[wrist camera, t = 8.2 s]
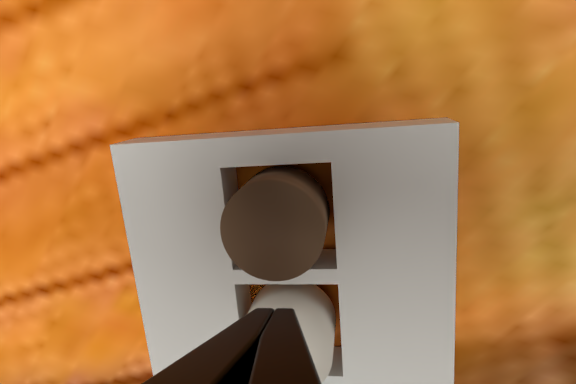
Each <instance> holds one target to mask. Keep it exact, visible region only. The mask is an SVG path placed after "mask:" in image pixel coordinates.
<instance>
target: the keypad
mask: <svg viewBox="0 0 576 384" xmlns="http://www.w3.org/2000/svg"><path fill="white" fill-rule="evenodd" d="M110 149H111V155H112V160H113V165H114V170H115V176H116V181H117V186H118V192H119V197H120V202H121V208H122V213H123V218H124V223H125V229H126V234H127V239H128V245H129V250H130V255H131V260H132V266H133V271H134V276H135V282H136V287H137V292H138V298H139V303H140V308H141V313H142V319H143V324H144V329H145V335H146V340H147V345H148V351H149V356H150V361H151V366H152V372H153V376H154V375H156V374H157V373H159V372H160V371H162V370H163V369H165V368H166V367H168V366H169V365H171V364H172V363H174V362H175V361H177V360H178V359H180V358H181V357H183V356H184V355H186V354H187V353H189V352H190V351H192V350H193V349H195V348H197V347H198V346H200V345H201V344H203V343H204V342H206V341H207V340H209V339H210V338H212V337H213V336H215V335H216V334H218V333H219V332H221V331H222V330H224V329H225V328H227V327H228V326H230V325H231V324H233V323H234V322H236V321H237V320H239V319H240V318H242V317H244V316H245V315H247V314H248V312H249V309H250V307H251V305H252V303H251V294H250V285H249V284H338V293H339V311H340V328H341V346H342V347H335V346H334V350H333V361H332V367H331V370H330V372H329V374H328V376H327V378H326V379H325V380H324V382H323V383H322V384H454V356H455V306H456V257H457V207H458V158H459V122H457V121H454V120H452V119H450V118H447V117H445V118H430V119H415V120H400V121H385V122H370V123H355V124H340V125H325V126H310V127H295V128H279V129H264V130H249V131H234V132H219V133H204V134H189V135H174V136H159V137H144V138H134V139H130V140H127V141H123V142H119V143H115V144H111V145H110ZM325 162H331V170H332V187H333V205H334V223H335V240H336V249H322V252H321V254H320V256H319V258H318V260H317V261H316V263H315V264H314V265H313V266H312V267H311V268H310V269H309V270H308V271H307V272H305V273H303V274H302V275H300V276H298V277H296V278H293V279H290V280H285V281H267V280H262V279H259V278H256V277H253V276H251V275H249V274H248V273H246V272H244V271H243V270H242V269H240V268H239V267H238V266H237V265H236V264H235V263H234V262H233V261H232V260H231V258H230V257H229V255H228V254H227V252H226V250H225V248H224V246H223V243H222V239H221V234H220V221H221V216H222V213H223V210H224V208H225V206H226V204H227V202H228V201H229V200H230V198H231V197H232V196H233V195H234V194H235V193H236V192H237V191H238V181H237V172H236V167H247V166H266V165H286V164H305V163H325Z"/></svg>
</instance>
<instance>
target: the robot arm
mask: <svg viewBox="0 0 576 384" xmlns="http://www.w3.org/2000/svg"><path fill="white" fill-rule="evenodd" d="M142 384H322V383H321V381H320V378H319V375H318V373H317V370H316V367H315V364H314V362H313V359H312V356H311V354H310V351H309V348H308V345H307V343H306V340H305V337H304V335H303V332H302V329H301V326H300V324H299V321H298V318H297V316H296V313H295V310H294V309H292V308H277V309H275V310H274V309H273V308H256V309H254V310H253V311H251V312H250V313H248V314H247V315H245V316H244V317H242V318H240V319H239V320H237V321H236V322H234V323H233V324H231V325H230V326H228V327H227V328H225V329H224V330H222V331H221V332H219V333H218V334H216V335H215V336H213V337H212V338H210V339H209V340H207V341H206V342H204V343H203V344H201V345H200V346H198V347H197V348H195V349H193V350H192V351H190V352H189V353H187V354H186V355H184V356H183V357H181V358H180V359H178V360H177V361H175V362H174V363H172V364H171V365H169V366H168V367H166V368H165V369H163V370H162V371H160V372H159V373H157V374H156V375H154V376H152V377H151V378H149V379H148V380H146V381H145V382H143V383H142Z"/></svg>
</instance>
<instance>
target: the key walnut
mask: <svg viewBox="0 0 576 384" xmlns="http://www.w3.org/2000/svg"><path fill="white" fill-rule="evenodd" d="M329 214H330V209H329V202H328V198H327V196H326V193H325V191H324V190H323V188H322V186H321V185H320V184H319V182H318V181H317V180H316V179H315V178H314V177H312V176H311V175H310V174H308V173H307V172H305V171H303V170H301V169H298V168H295V167H291V166H274V167H270V168H267V169H264V170H262V171H260V172H259V173H257V174H256V175H255V176H253V177H252V178H251V179H250V180H249V181H248V182H247V183H246V184H245V185H244V186H242V187H241V188H240V189H239V190H238V191H237V192H236V193H235V194H234V195H233V196H232V197H231V198H230V200H229V201H228V202H227V204H226V206H225V208H224V210H223V213H222V216H221V221H220V234H221V239H222V243H223V246H224V248H225V250H226V252H227V254H228V255H229V257H230V258H231V260H232V261H233V262H234V263H235V264H236V265H237V266H238V267H239V268H240V269H242V270H243V271H244V272H246V273H248V274H249V275H251V276H253V277H256V278H259V279H262V280H267V281H285V280H290V279H293V278H296V277H298V276H300V275H302V274H303V273H305V272H307V271H308V270H309V269H310V268H311V267H312V266H313V265H314V264H315V263H316V261H317V260H318V258H319V256H320V254H321V252H322V249H323V246H324V241H325V236H326V231H327V226H328V221H329Z"/></svg>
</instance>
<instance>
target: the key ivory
mask: <svg viewBox="0 0 576 384" xmlns="http://www.w3.org/2000/svg"><path fill="white" fill-rule="evenodd" d="M256 308H273V309H274V310H275V309H277V308H292V309H294V310H295V313H296V316H297V318H298V321H299V324H300V326H301V329H302V332H303V335H304V337H305V340H306V343H307V345H308V348H309V351H310V354H311V356H312V359H313V362H314V364H315V367H316V370H317V373H318V375H319V378H320V381H321V383H323V382H324V380H325V379H326V378H327V376H328V374H329V372H330V370H331V367H332V361H333V350H334V338H335V327H336V314H335V309H334V306H333V304H332V302H331V300H330V298H329V297H328V296H327V294H326V293H325V292H324V291H323V290H322V289H320V288H319V287H318V286H316V285H315V284H267V285H265V286H264V287H263V288H262V289H261V290H260V291H259V292H258V293H257V295H256V297H255V299H254V301H253V303H252V305H251V307H250V309H249V312H248V313H250V312H251V311H253V310H254V309H256Z"/></svg>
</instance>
